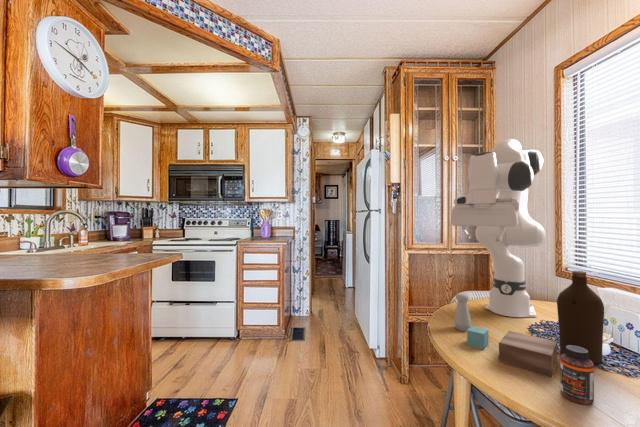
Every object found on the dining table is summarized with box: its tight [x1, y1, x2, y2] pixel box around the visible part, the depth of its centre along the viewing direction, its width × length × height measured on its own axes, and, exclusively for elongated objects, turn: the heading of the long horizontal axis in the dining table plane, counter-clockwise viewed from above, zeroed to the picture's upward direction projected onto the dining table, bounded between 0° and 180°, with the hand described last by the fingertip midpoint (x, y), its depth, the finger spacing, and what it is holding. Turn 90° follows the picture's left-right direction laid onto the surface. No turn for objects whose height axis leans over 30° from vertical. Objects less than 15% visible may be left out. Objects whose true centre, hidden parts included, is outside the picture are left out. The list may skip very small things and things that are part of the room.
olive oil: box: [556, 270, 605, 365], centre depth 90 cm, size 11×11×25 cm
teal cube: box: [466, 325, 489, 351], centre depth 98 cm, size 5×5×5 cm
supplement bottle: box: [559, 345, 595, 405], centre depth 70 cm, size 6×6×11 cm
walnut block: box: [498, 330, 558, 379], centre depth 87 cm, size 12×12×6 cm
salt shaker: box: [453, 292, 472, 332], centre depth 112 cm, size 6×6×13 cm
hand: (482, 240), depth 103 cm, fingers open, 8 cm apart
